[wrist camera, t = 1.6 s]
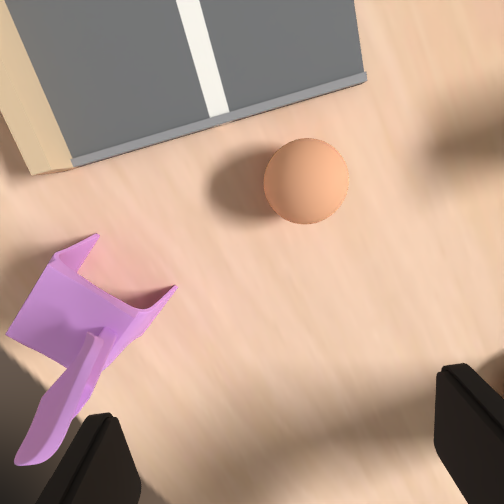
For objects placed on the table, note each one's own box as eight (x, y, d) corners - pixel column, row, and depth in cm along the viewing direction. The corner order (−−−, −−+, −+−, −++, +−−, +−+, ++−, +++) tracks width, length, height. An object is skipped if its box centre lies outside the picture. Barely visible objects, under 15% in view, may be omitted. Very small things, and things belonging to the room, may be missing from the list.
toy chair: (97, 219, 27) (-75, 302, 13) (184, 278, 29) (121, 409, 14) (52, 291, 29) (-141, 433, 15) (136, 342, 31) (38, 513, 16)
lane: (331, -122, 20) (350, -184, 16) (361, 83, 24) (383, 71, 20) (-14, -3, 22) (-69, -35, 18) (63, 171, 25) (31, 175, 22)
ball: (328, 129, 25) (352, 124, 19) (342, 204, 27) (367, 220, 21) (253, 151, 25) (254, 152, 19) (272, 223, 27) (278, 243, 21)
